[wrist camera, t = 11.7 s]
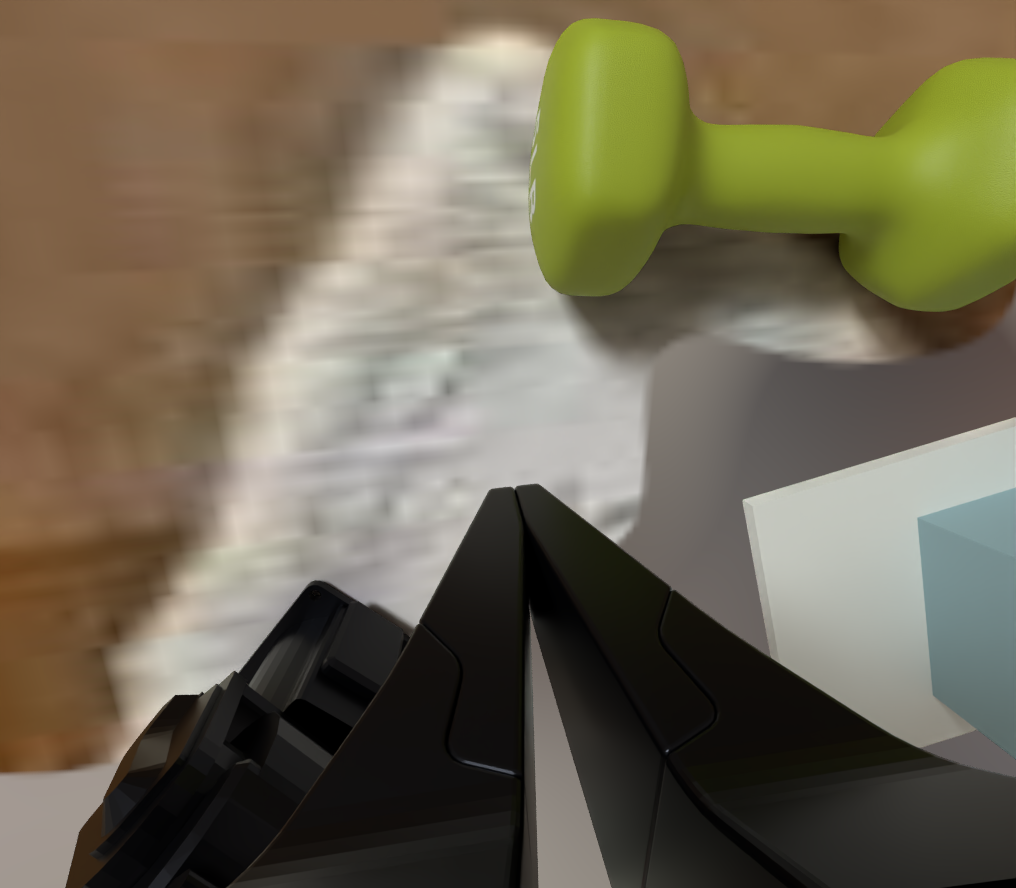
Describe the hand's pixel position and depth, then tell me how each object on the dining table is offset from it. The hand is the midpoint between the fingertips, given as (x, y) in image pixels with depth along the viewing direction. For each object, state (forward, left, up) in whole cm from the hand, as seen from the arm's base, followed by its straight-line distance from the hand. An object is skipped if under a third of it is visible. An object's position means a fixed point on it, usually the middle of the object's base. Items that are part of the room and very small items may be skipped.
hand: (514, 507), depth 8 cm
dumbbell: (+12, -3, -13) cm, 18 cm away
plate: (+6, -23, -12) cm, 27 cm away
